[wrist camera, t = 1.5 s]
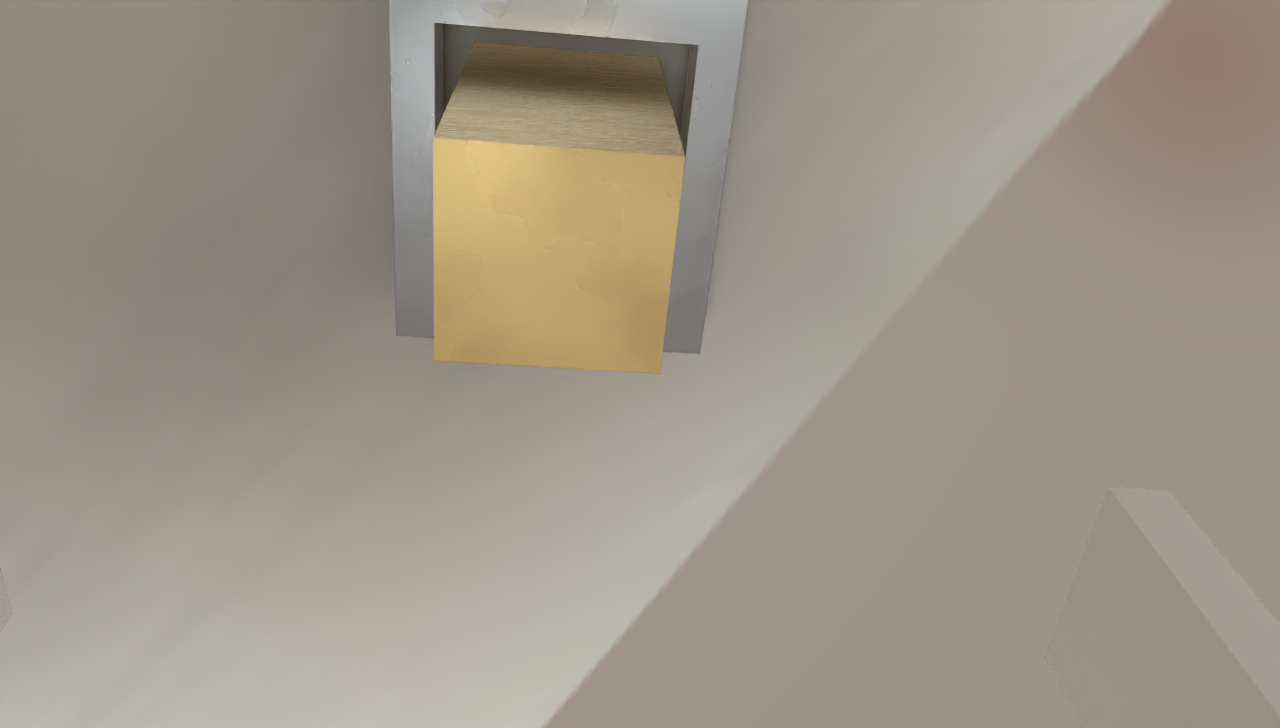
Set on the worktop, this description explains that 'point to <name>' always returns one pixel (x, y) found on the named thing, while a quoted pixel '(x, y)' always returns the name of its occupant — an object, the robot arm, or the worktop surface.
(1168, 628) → the robot arm
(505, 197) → the block
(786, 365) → the worktop surface
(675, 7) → the grey slotted board
